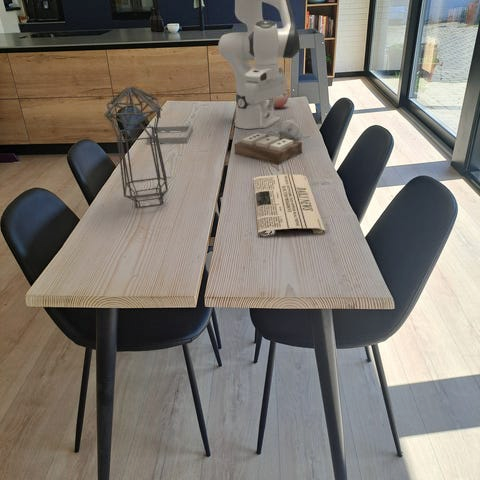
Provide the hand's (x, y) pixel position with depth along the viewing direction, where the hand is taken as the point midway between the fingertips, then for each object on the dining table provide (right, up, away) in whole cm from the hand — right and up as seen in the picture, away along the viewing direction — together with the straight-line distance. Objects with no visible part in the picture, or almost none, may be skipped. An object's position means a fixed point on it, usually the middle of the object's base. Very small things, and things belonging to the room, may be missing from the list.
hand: (267, 111), depth 168 cm
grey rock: (+10, -6, +22) cm, 25 cm away
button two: (+6, -14, +3) cm, 15 cm away
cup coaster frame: (-40, -3, +31) cm, 51 cm away
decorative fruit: (+10, +20, +65) cm, 69 cm away
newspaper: (+4, -38, -31) cm, 49 cm away
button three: (-4, -10, +11) cm, 15 cm away
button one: (+1, -12, +7) cm, 14 cm away
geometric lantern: (-39, -35, -24) cm, 58 cm away
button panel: (+1, -14, +8) cm, 16 cm away
